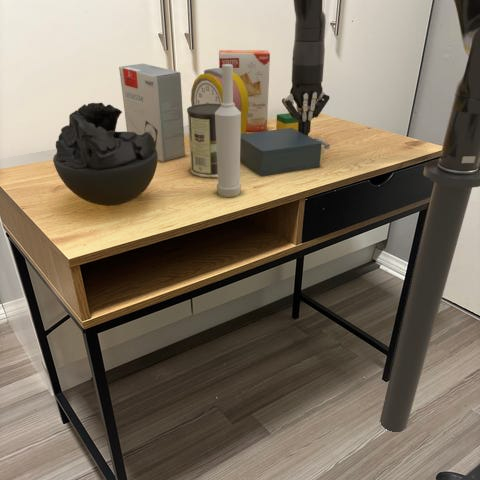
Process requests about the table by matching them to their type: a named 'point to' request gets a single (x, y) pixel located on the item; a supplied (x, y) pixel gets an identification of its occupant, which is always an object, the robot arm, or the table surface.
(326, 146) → the drawer
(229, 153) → the bottle
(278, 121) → the sponge
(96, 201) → the bowl of black rocks
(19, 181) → the table surface
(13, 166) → the table surface
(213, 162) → the coffee can
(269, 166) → the cabinet
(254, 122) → the cracker box
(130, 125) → the hard drive box
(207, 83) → the alarm clock
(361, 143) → the table surface
